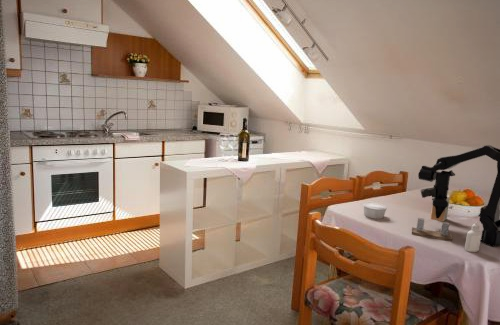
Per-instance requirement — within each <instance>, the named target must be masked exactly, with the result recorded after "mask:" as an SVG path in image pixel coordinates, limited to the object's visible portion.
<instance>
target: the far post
mask: <svg viewBox="0 0 500 325" xmlns="http://www.w3.org/2000/svg"><path fill="white" fill-rule="evenodd" d="M424 225H425V218H421V217H417V223H416V227H415V228H416V231H418V232H423V229H424Z"/></svg>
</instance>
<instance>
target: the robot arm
mask: <svg viewBox="0 0 500 325" xmlns="http://www.w3.org/2000/svg"><path fill="white" fill-rule="evenodd" d="M484 156H486V157H489V158H490V159H492V160H494V161H496V169H497V173H496V177H495V179H494V183H493V186H492V189H491V194H490V197H489V199H488V202H487V204H486V205H484V206H482V207H480V213H479V215H478V217H479V218H478V219H479V222H480V223H481V225H482V228H483V229H482V231H481V240H480V243H483V244H485V245H487V246H489V247H500V148H497V147H494V146H493V145H490V144H486V145H482V146H481V147H478V148H475V149H472V150H469V151H466V152H465V151H464V152H463V153H460V154H456V155H449V156H443V157H439V158H437V159H436V163H435V164H434V165H433V166H432V167H431V166H427V165H422V166H421V168H420V170H419V171H418V179H419V180H421V181H425V182H431V183H432V182H434V181H435V183H434V185H433V187H427V188H422V189H420V194H421V199H422V198H424V199H425V198H427V197H431V201H432V203H431V204H432V205H434V206H435V210H436V218H439V217H440V215H441V214H442V213H443V211H444V210H445V208H446V207H448V201H447V200H446V199H447V195H448V193H449V189H450V188H449V185H450V180H451V177H455V176H456V173H455V172H454V171H453V170H450V169H452V168H454V167H456V166H458V165H459V164H462V163H464V162H468V161H471V160H475V159H478V158H481V157H484ZM446 170H449V171H446ZM432 205H431V206H432ZM448 208H449V207H448Z"/></svg>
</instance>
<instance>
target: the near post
mask: <svg viewBox="0 0 500 325" xmlns="http://www.w3.org/2000/svg"><path fill="white" fill-rule="evenodd" d="M449 227H450V223H449V222H446V221H441V228H440V232H441V233H440V234H441V236H446V237H447V235H448V234H449Z"/></svg>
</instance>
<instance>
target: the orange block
mask: <svg viewBox="0 0 500 325" xmlns="http://www.w3.org/2000/svg"><path fill="white" fill-rule="evenodd" d="M444 212H445V210H444V211H443V213H442V214H441V215H440V217H439V218H436V210H435V206H434V205H431V211H430V220H434V221H440V222H444V221H443V218H444Z"/></svg>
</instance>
